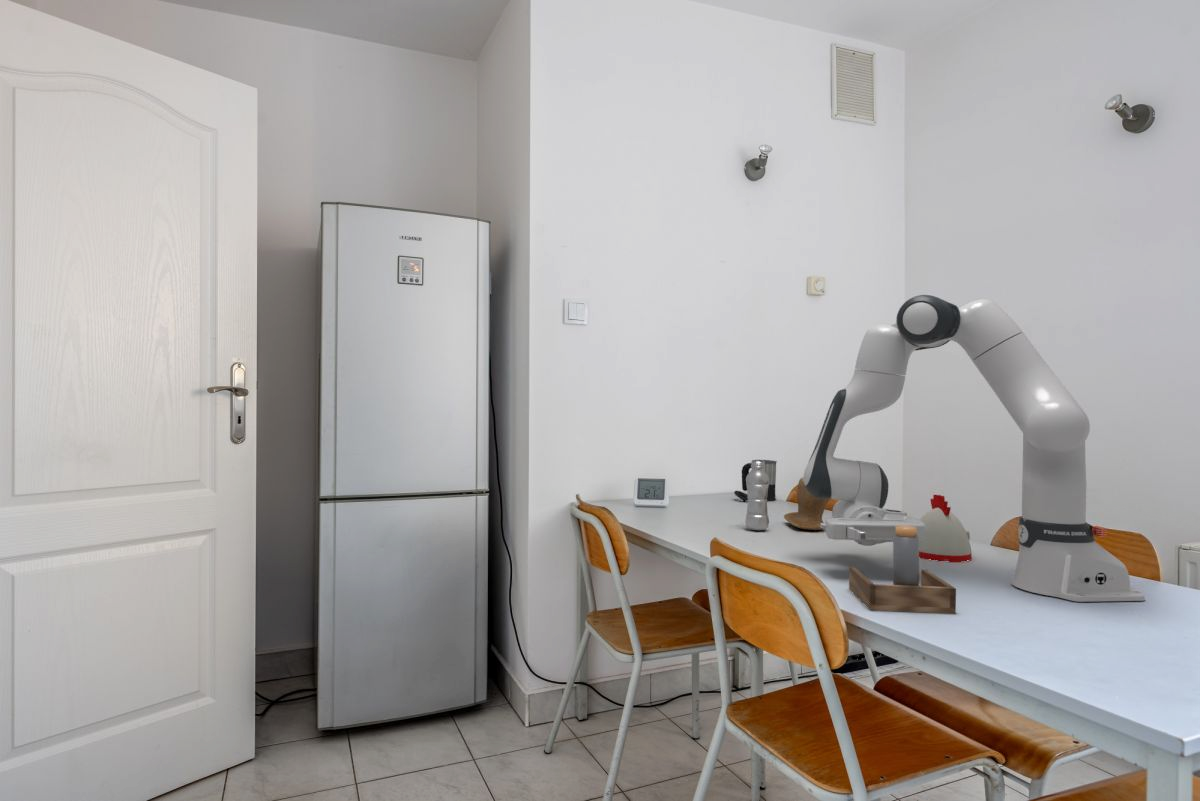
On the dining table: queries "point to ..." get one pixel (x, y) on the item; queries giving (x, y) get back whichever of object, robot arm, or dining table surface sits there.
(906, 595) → the box
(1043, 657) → the dining table surface
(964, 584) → the dining table surface
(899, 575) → the grey bottle with cap
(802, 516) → the brown flared piece
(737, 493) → the milk frother
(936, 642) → the dining table surface
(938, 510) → the kitchen timer
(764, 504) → the plastic bottle
